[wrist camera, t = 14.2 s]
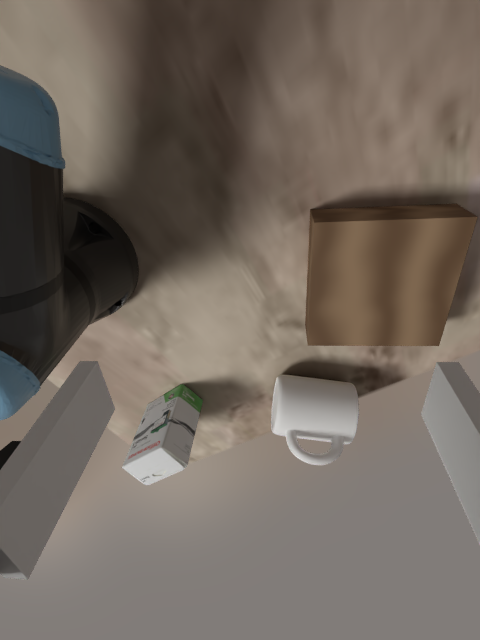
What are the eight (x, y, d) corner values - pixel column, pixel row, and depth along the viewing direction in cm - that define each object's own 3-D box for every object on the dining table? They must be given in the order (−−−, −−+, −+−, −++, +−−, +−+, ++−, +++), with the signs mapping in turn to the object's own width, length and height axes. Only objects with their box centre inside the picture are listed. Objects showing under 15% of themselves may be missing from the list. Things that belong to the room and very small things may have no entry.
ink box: (182, 382, 54) (161, 447, 44) (204, 401, 56) (189, 467, 46) (145, 404, 57) (118, 469, 48) (167, 422, 59) (145, 488, 49)
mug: (268, 472, 46) (347, 482, 46) (277, 442, 40) (367, 453, 40) (271, 395, 55) (338, 403, 54) (279, 361, 49) (353, 370, 49)
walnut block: (305, 322, 47) (307, 345, 43) (309, 208, 39) (313, 222, 34) (423, 322, 45) (438, 345, 41) (454, 202, 37) (477, 216, 33)
